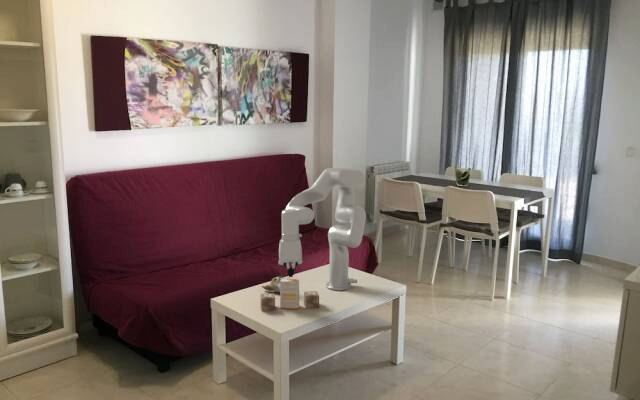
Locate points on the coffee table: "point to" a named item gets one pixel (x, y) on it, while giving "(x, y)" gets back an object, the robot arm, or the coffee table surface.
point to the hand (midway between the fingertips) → (290, 276)
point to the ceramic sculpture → (274, 284)
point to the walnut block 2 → (311, 299)
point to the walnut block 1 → (267, 302)
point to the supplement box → (289, 293)
